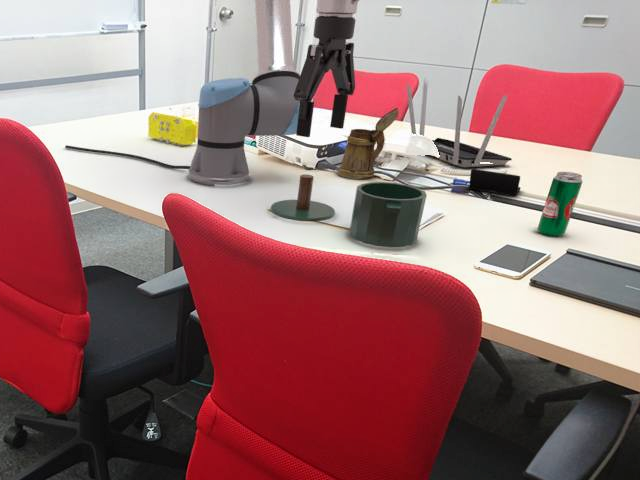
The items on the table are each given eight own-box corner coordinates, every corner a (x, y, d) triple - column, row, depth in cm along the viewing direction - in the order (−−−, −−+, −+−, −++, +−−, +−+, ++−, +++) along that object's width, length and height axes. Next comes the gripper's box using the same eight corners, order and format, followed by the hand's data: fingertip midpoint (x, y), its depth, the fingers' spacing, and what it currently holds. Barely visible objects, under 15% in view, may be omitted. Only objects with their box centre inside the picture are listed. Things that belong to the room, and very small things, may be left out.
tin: (349, 251, 122) (358, 201, 117) (348, 221, 137) (355, 176, 132) (420, 257, 120) (432, 206, 115) (410, 227, 135) (420, 181, 130)
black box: (521, 182, 162) (525, 154, 153) (518, 205, 159) (523, 178, 151) (470, 182, 167) (471, 155, 158) (467, 205, 164) (468, 179, 156)
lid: (268, 220, 137) (272, 181, 133) (273, 202, 149) (277, 166, 145) (334, 226, 135) (340, 186, 130) (334, 207, 146) (339, 170, 142)
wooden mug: (372, 185, 163) (386, 109, 154) (330, 173, 173) (341, 101, 164) (394, 180, 168) (409, 106, 159) (352, 169, 177) (364, 99, 168)
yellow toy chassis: (147, 139, 207) (147, 111, 203) (160, 137, 210) (160, 109, 206) (183, 147, 197) (184, 118, 193) (196, 145, 200) (197, 116, 196)
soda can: (531, 229, 135) (549, 171, 129) (554, 229, 135) (573, 171, 129) (545, 237, 131) (565, 177, 125) (569, 237, 131) (590, 177, 125)
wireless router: (525, 171, 179) (548, 93, 169) (455, 176, 173) (474, 95, 163) (446, 145, 207) (462, 77, 197) (383, 148, 201) (395, 78, 191)
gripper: (319, 17, 114) (304, 142, 124) (383, 15, 130) (365, 126, 140) (283, 15, 118) (271, 137, 128) (349, 14, 134) (334, 122, 145)
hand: (320, 131), depth 134 cm, fingers open, 13 cm apart
